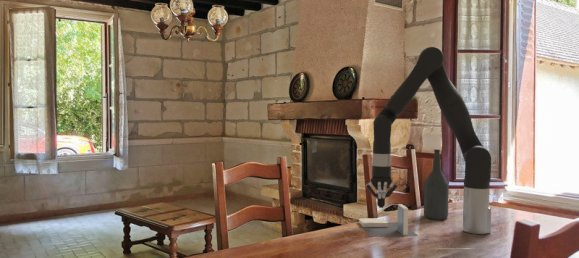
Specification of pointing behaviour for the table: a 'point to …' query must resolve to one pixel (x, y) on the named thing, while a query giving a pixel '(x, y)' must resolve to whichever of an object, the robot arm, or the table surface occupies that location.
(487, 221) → the robot arm
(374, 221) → the tile
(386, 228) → the mat
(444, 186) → the bottle
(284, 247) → the table surface
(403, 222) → the tile
